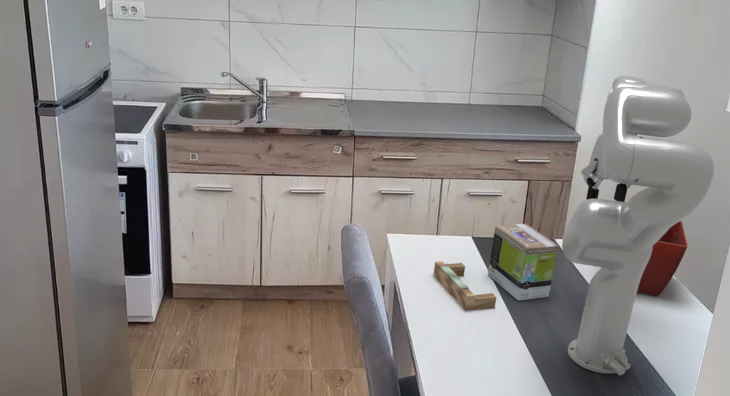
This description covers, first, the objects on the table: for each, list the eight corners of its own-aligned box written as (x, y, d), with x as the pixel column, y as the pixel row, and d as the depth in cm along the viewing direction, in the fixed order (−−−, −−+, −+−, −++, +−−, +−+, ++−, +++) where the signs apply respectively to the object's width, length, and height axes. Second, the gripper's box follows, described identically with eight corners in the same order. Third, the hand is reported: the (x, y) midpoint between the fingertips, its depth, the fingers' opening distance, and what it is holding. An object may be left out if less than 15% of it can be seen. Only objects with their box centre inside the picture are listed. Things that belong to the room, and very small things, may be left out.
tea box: (550, 297, 180) (560, 245, 174) (516, 302, 176) (526, 248, 171) (517, 271, 192) (526, 221, 187) (486, 275, 189) (494, 224, 184)
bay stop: (494, 307, 172) (497, 292, 170) (465, 311, 169) (467, 295, 168) (460, 272, 188) (462, 258, 187) (433, 275, 186) (435, 260, 184)
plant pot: (595, 289, 186) (608, 231, 180) (597, 261, 203) (609, 207, 197) (672, 305, 181) (688, 246, 175) (667, 275, 198) (682, 220, 192)
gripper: (640, 126, 168) (624, 195, 174) (579, 126, 162) (565, 198, 168) (661, 135, 161) (644, 206, 167) (598, 135, 156) (583, 209, 162)
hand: (605, 201), depth 168 cm, fingers open, 7 cm apart
